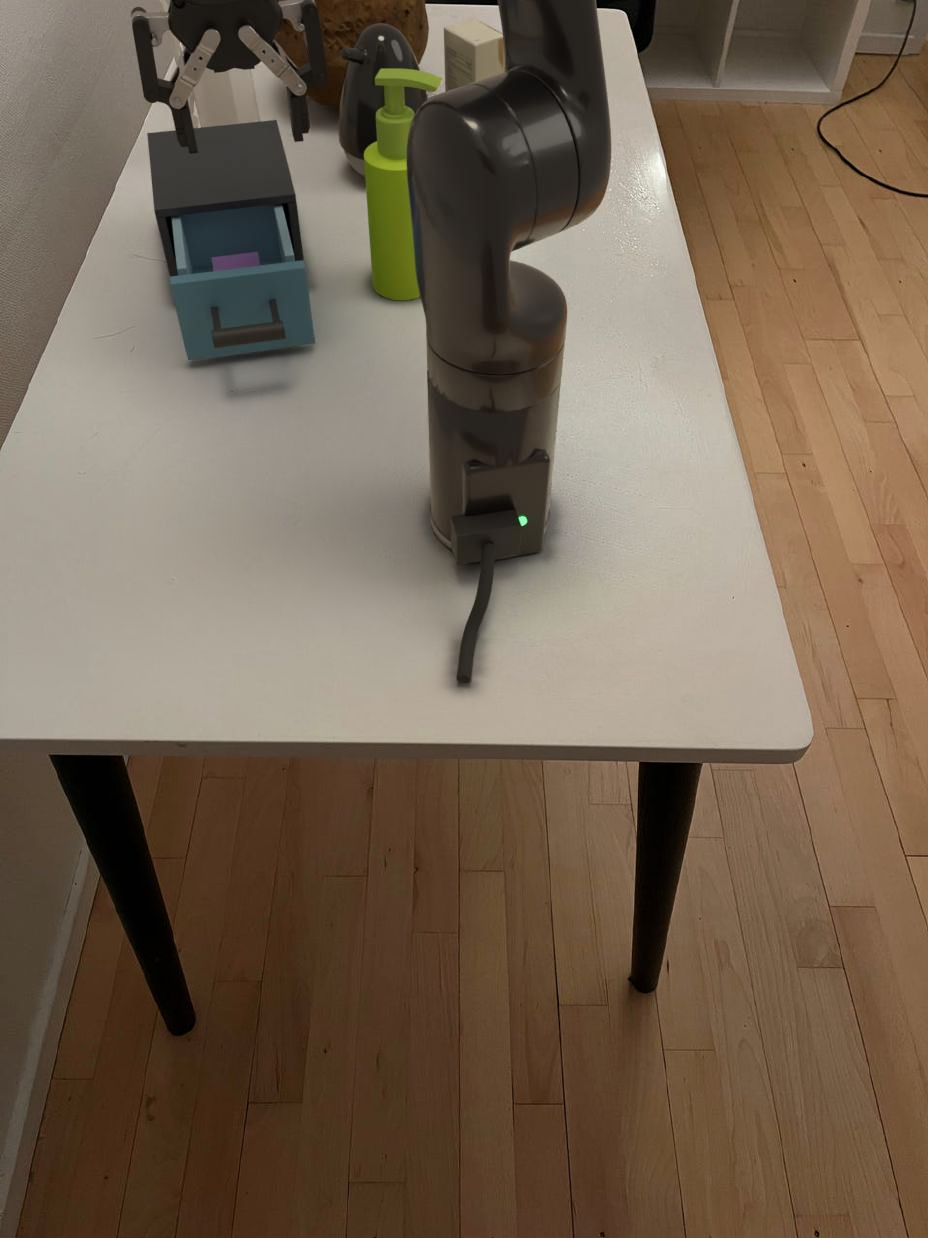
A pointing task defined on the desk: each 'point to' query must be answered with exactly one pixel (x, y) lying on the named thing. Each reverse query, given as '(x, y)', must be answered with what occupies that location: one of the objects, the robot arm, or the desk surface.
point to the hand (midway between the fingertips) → (246, 143)
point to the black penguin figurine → (371, 87)
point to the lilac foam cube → (235, 261)
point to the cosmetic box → (472, 53)
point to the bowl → (352, 36)
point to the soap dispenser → (392, 186)
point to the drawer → (239, 284)
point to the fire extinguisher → (219, 92)
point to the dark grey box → (221, 177)
